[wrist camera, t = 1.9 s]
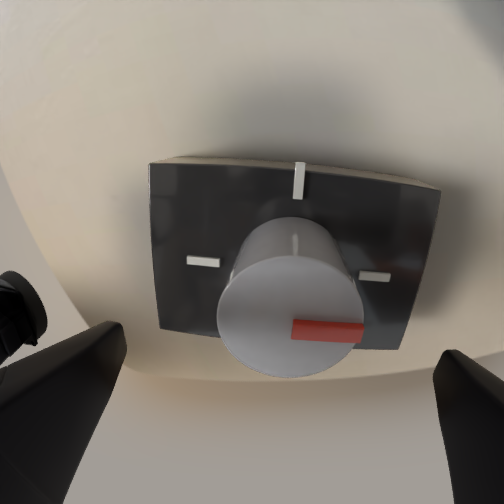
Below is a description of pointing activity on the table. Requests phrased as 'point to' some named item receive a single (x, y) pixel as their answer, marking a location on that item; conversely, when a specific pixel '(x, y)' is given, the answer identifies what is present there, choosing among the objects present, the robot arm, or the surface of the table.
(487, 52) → the table surface
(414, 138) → the table surface
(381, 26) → the table surface
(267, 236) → the hob knob
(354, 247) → the panel
